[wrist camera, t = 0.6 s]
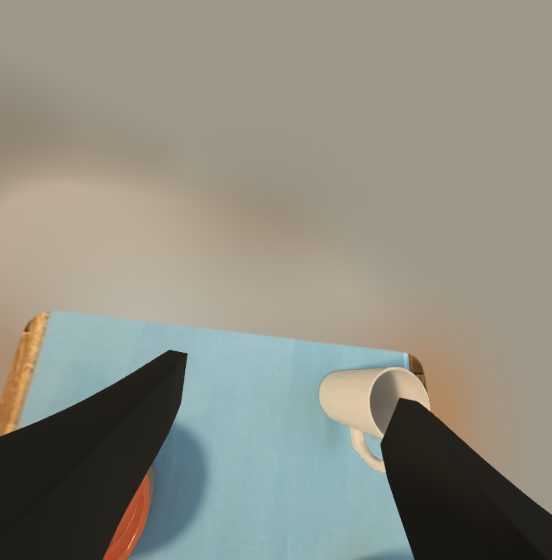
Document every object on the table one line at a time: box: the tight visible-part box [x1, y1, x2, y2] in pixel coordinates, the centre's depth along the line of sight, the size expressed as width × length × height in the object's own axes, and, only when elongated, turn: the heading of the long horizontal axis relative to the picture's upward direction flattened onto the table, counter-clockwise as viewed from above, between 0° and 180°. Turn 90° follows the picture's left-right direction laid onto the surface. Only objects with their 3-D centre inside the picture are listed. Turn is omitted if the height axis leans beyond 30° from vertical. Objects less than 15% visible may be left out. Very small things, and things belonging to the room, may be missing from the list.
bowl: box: [103, 465, 155, 560], centre depth 27 cm, size 12×12×4 cm
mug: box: [319, 367, 430, 473], centre depth 32 cm, size 10×7×12 cm, turn 1°
